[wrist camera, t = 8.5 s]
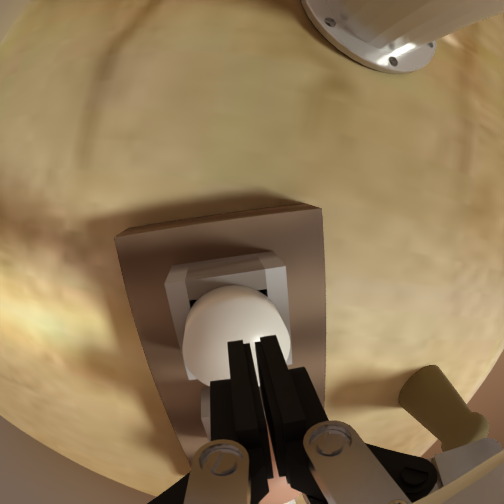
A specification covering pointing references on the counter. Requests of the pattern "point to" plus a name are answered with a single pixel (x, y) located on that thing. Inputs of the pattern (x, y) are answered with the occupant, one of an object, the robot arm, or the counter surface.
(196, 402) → the button board
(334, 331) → the counter surface
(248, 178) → the counter surface
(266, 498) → the button middle
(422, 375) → the cork
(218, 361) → the button near
